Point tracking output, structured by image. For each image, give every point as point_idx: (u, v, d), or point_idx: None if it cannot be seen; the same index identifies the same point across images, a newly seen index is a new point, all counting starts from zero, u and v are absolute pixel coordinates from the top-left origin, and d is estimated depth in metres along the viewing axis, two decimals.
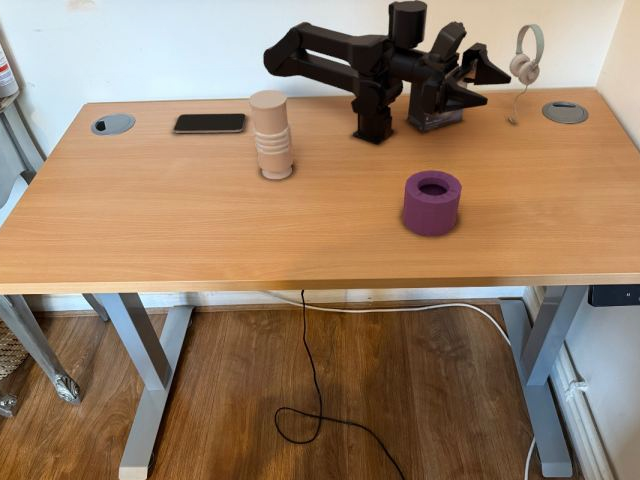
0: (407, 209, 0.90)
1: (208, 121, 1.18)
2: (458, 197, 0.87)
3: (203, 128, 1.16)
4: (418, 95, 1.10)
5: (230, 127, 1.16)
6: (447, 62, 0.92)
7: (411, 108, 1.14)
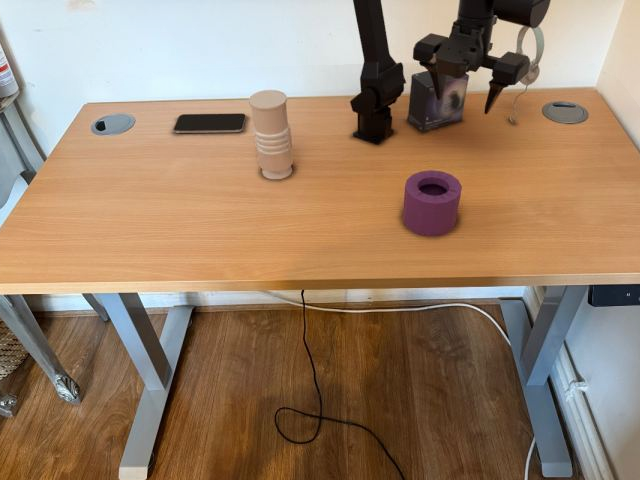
0: (407, 209, 0.90)
1: (208, 121, 1.18)
2: (458, 197, 0.87)
3: (203, 128, 1.16)
4: (418, 95, 1.10)
5: (230, 127, 1.16)
6: None
7: (411, 108, 1.14)
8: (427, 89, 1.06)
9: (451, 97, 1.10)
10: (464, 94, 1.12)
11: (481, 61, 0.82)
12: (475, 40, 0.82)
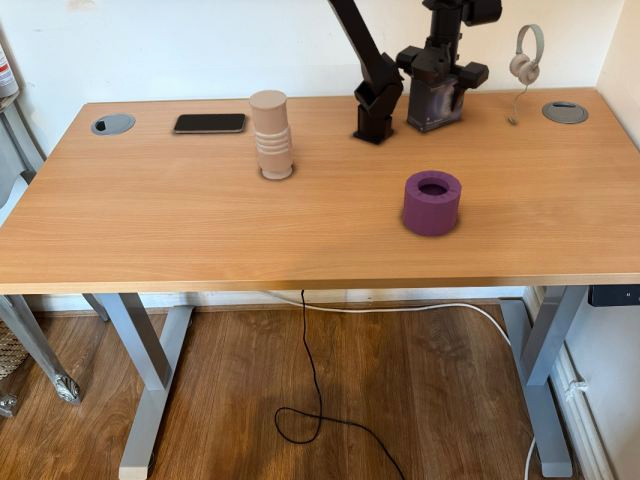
0: (407, 209, 0.90)
1: (208, 121, 1.18)
2: (458, 197, 0.87)
3: (203, 128, 1.16)
4: (418, 96, 1.09)
5: (230, 127, 1.16)
6: None
7: (411, 109, 1.13)
8: (428, 90, 1.06)
9: (451, 97, 1.10)
10: None
11: (448, 69, 1.02)
12: (443, 52, 1.02)
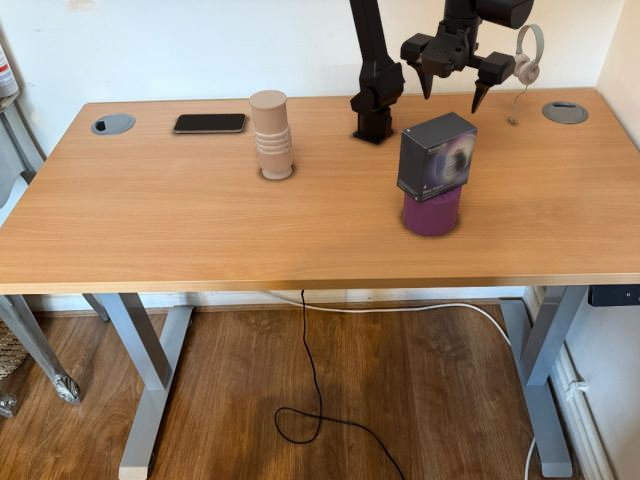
0: (407, 209, 0.90)
1: (208, 121, 1.18)
2: (458, 197, 0.87)
3: (203, 128, 1.16)
4: (412, 157, 0.81)
5: (230, 127, 1.16)
6: None
7: (402, 172, 0.85)
8: (425, 151, 0.78)
9: (455, 158, 0.82)
10: (471, 151, 0.84)
11: (466, 61, 0.82)
12: (461, 40, 0.83)
